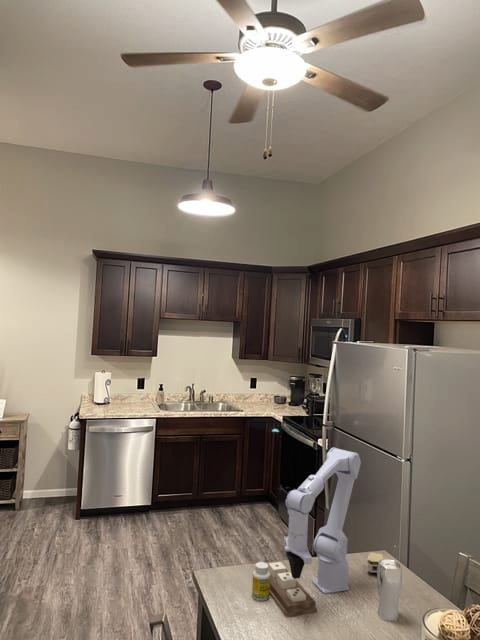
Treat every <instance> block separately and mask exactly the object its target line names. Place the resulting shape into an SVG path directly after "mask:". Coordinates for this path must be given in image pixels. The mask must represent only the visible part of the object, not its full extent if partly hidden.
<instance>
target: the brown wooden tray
mask: <svg viewBox="0 0 480 640" xmlns="http://www.w3.org/2000/svg"><path fill="white" fill-rule="evenodd" d="M287 572H290V571H289V570H288V569H287V568H286V573H287ZM296 588H300V589H301V590H302V591H303V593H304V594H305V595H306V600H305V601H299V602H291V600H290V599H289V598H288V597H287V595H286V590H289V589H286V590H282V589H281V588H280V587H279V586H278V584H277V578H274V579H273V578H272V577H271V576H270V588H269V597H270V598H271V599H272V600H273V601H274V604H276V606H277V607H278V608H279V610H280V611H281V612H282V613H283V615H284V616H285V618H288V617H289V618H290V617H295V616H302V615H307V614H314V613H318V608H317V606H316V604H317V603H316V600H315V599H314V598H313V597H312V596H311V595H310V594H309V592H308V591H307V590H306V589H305V588H304V587H303V585H301V584H300V582H299V581H298V580H297V579H296V586H295V588H292V589H296Z"/></svg>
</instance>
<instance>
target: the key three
mask: <svg viewBox="0 0 480 640" xmlns="http://www.w3.org/2000/svg"><path fill="white" fill-rule="evenodd" d="M286 595H287V597H288V598H289V599H290V600H291V602H299V601H305V600H306V595H305V594H304V593H303V591H302V590H301V589H300V588H296V589H289V590H286Z"/></svg>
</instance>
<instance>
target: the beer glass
mask: <svg viewBox="0 0 480 640" xmlns="http://www.w3.org/2000/svg"><path fill="white" fill-rule="evenodd" d="M402 567H403V566H402V564H401V563H400V562H399V561H397V560H394V559H391V558H384V559H381V560H379V565H378V575H377V574H376V578H377V581H376V583H377V589H378V596H379V597H378V598H379V603H378V608H377V615H378V617H379V618H380V617H381V618H380V619H382V620H384V619H385V620H384V621H386V620H388V622H392V621H393V622H396V621H395V620H397V621H398V620H399V619H400V613H399V612H400V611H399V602H400V601H399V600H400V596H401V591H402V586H403V585H402V584H403V569H402Z"/></svg>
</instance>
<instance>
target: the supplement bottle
mask: <svg viewBox="0 0 480 640" xmlns="http://www.w3.org/2000/svg"><path fill="white" fill-rule="evenodd" d="M254 567H255V568H254V571H253V573H252V589H251V591H252V593H251V595H252V598H253V599H254V600H256V601H267V600H268V598H269V597H270V595H269V588H270V573H269V571H268V563H266V562H263V561H258V562H256V563H255V566H254Z"/></svg>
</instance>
